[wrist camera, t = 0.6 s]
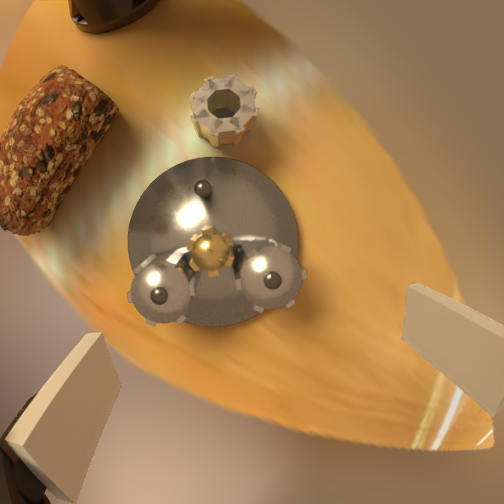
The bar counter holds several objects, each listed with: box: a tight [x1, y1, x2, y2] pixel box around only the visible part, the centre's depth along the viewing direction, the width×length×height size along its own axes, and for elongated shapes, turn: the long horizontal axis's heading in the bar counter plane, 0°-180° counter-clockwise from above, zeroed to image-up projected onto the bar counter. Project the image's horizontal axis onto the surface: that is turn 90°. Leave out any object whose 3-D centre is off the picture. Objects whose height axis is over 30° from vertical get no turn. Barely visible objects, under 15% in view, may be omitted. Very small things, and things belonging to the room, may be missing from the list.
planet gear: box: [189, 74, 259, 147], centre depth 27 cm, size 7×7×6 cm
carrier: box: [127, 157, 307, 327], centre depth 29 cm, size 20×20×8 cm
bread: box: [0, 65, 119, 236], centre depth 24 cm, size 19×11×10 cm, turn 141°
